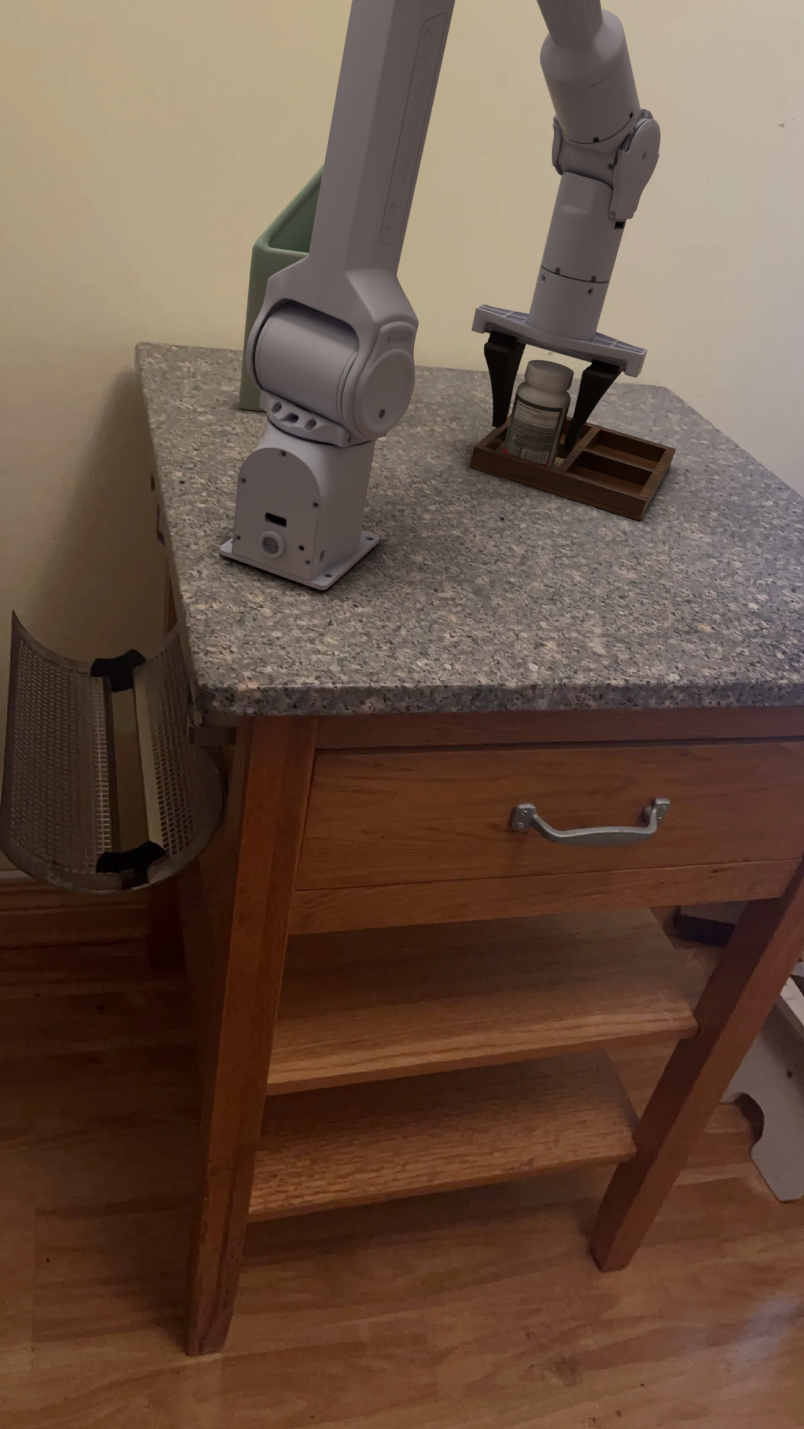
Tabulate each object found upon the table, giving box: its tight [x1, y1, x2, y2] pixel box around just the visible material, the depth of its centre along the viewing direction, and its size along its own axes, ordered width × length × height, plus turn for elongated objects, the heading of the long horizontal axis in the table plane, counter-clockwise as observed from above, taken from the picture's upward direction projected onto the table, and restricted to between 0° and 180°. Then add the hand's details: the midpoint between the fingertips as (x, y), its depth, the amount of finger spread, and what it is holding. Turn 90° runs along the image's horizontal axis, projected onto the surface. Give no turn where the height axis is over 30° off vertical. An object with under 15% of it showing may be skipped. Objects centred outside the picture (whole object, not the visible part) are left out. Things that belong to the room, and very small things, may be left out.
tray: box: [469, 414, 677, 522], centre depth 94 cm, size 15×15×2 cm
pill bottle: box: [502, 359, 575, 467], centre depth 90 cm, size 5×5×8 cm
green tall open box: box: [238, 163, 324, 413], centre depth 91 cm, size 16×8×20 cm, turn 143°
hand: (533, 435), depth 91 cm, fingers open, 6 cm apart
